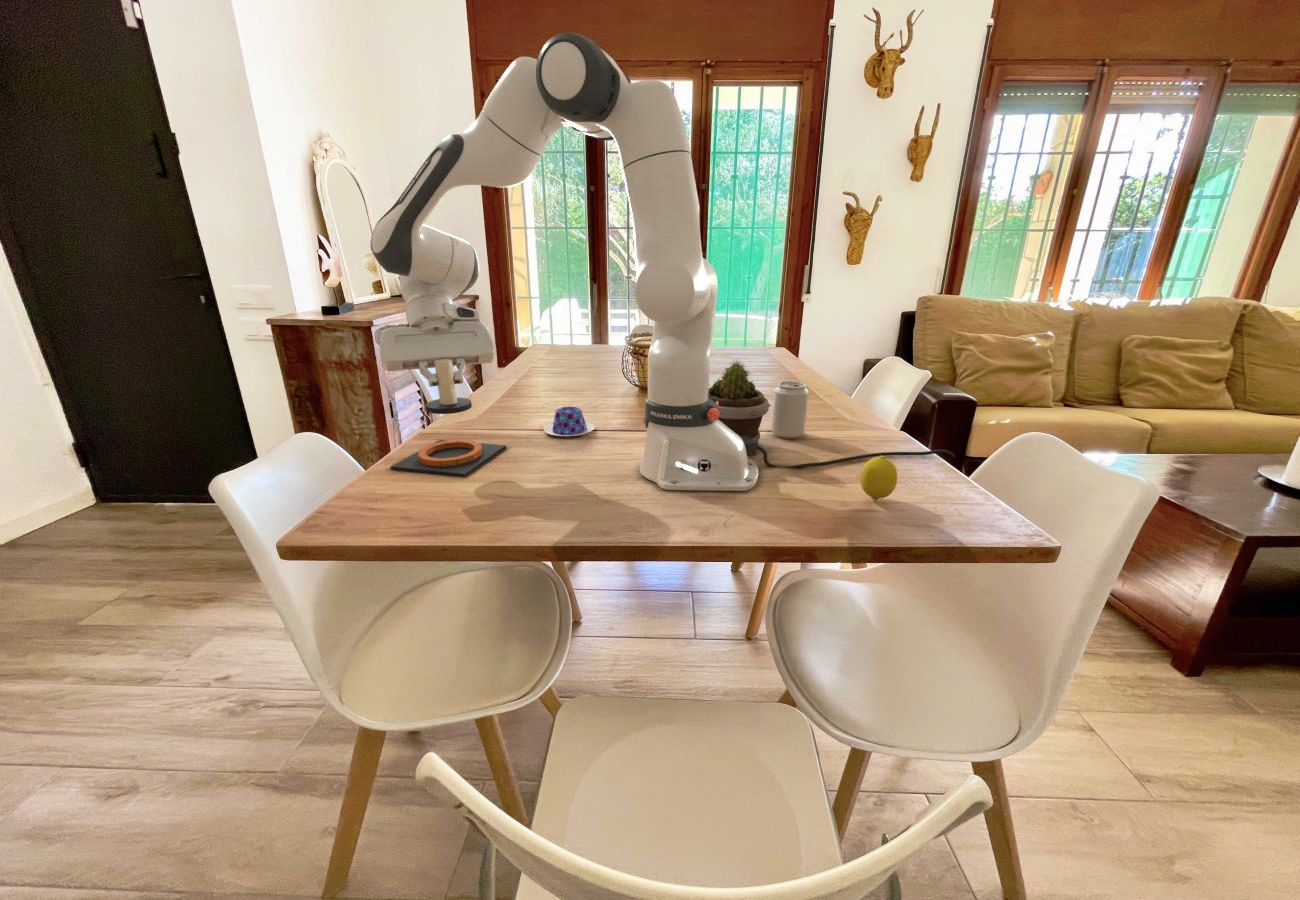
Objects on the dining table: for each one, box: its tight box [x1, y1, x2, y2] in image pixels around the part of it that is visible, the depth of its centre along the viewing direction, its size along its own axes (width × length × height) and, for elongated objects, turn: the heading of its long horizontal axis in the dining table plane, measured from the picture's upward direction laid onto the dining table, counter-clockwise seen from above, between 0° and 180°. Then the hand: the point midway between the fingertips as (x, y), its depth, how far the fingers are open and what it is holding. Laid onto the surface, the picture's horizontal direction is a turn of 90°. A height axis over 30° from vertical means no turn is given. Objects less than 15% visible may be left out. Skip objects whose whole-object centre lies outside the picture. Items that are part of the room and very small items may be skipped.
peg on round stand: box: [425, 359, 473, 415], centre depth 96 cm, size 8×8×9 cm
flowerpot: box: [708, 357, 771, 444], centre depth 109 cm, size 14×15×20 cm
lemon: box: [860, 456, 898, 501], centre depth 86 cm, size 6×6×8 cm
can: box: [770, 380, 810, 439], centre depth 117 cm, size 8×8×12 cm
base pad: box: [390, 439, 507, 478], centre depth 105 cm, size 16×16×2 cm
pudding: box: [543, 406, 596, 437], centre depth 121 cm, size 12×12×5 cm
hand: (446, 383), depth 95 cm, fingers closed on peg on round stand, 3 cm apart
